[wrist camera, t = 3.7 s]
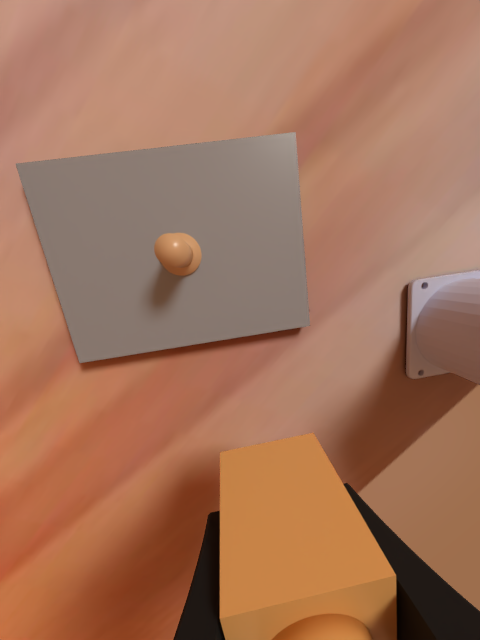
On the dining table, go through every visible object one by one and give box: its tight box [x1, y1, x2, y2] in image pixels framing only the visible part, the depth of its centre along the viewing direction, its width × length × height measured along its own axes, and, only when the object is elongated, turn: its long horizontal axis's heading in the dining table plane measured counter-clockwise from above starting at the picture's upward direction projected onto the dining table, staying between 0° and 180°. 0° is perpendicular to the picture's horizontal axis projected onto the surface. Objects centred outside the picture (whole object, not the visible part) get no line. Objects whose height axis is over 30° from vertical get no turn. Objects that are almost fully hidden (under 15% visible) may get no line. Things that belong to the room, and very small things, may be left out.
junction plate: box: [16, 132, 310, 363], centre depth 13 cm, size 16×12×4 cm
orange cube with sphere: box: [220, 433, 397, 640], centre depth 8 cm, size 4×4×6 cm
